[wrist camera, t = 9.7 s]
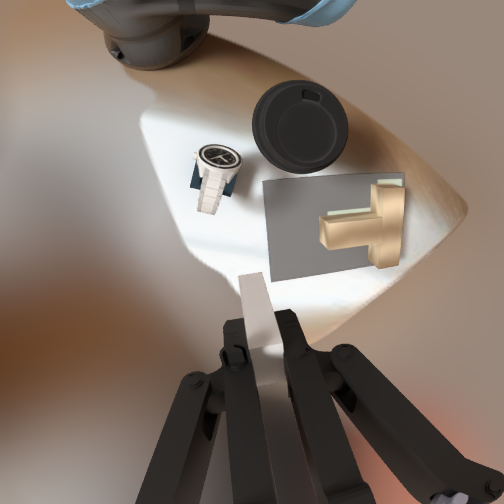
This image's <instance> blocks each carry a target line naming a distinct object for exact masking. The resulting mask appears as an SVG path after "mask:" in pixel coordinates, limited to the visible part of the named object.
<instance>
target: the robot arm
mask: <svg viewBox="0 0 504 504" xmlns="http://www.w3.org/2000/svg"><path fill="white" fill-rule="evenodd" d="M356 1H357V0H66V2H67V4H69V6H70V7H72V8H74V9H75V10H77V11H78V12H79V13H81V14H82V15H83V16H85V17H86V18H87V19H88V20H90V21H91V22H92V23H94V24H95V25H96V26H97V27H99V28H100V29H101V30H102V31H103V33H104V40H105V44H106V47H107V49H108V51H109V53H110V54H111V55H112V56H113V57H114V58H115V59H116V60H117V61H119V62H120V63H121V64H123V65H125V66H127V67H129V68H132V69H136V70H157V69H162V68H165V67H168V66H171V65H173V64H176V63H178V62H180V61H181V60H183V59H185V58H186V57H188V56H189V55H190V54H191V53H193V52H194V51H195V50H196V49H197V48H198V46H199V45H200V44H201V43H202V41H203V40H204V38H205V36H206V34H207V31H208V28H209V22H210V17H209V15H222V16H239V17H249V18H259V19H267V20H274V21H275V22H277V23H280V24H299V25H305V26H311V27H319V26H325V25H329V24H331V23H333V22H335V21H337V20H338V19H340V18H341V17H342V16H344V15H345V14H346V13H347V12H348V11H349V10H350V8H351V7H352V6H353V5H354V3H355V2H356ZM238 279H239V286H240V293H241V300H242V307H243V314H244V318H240V319H234V320H227V321H226V323H225V325H224V326H223V333H224V347H223V348H222V349H221V351H220V354H219V355H220V359H221V362H222V367H221V368H220V369H218V370H217V371H215V372H213V373H210V374H208V375H206V374H205V373H203V372H199V371H197V372H191V373H189V374H187V375H186V376H185V377H184V378H183V379H182V381H181V383H180V386H179V388H178V391H177V393H176V396H175V398H174V401H173V404H172V406H171V409H170V411H169V414H168V417H167V419H166V422H165V424H164V427H163V430H162V432H161V435H160V438H159V440H158V443H157V445H156V448H155V451H154V454H153V456H152V459H151V462H150V464H149V467H148V470H147V472H146V475H145V478H144V481H143V483H142V486H141V489H140V492H139V494H138V497H137V500H136V503H135V504H199V502H200V498H201V494H202V490H203V486H204V482H205V478H206V474H207V470H208V466H209V462H210V458H211V454H212V450H213V446H214V442H215V438H216V434H217V430H218V426H219V422H220V418H221V413H222V412H223V411H226V420H227V421H226V422H227V434H228V448H229V458H230V459H229V460H230V471H231V481H232V491H233V501H234V504H278V499H277V494H276V489H275V483H274V478H273V472H272V467H271V462H270V456H269V451H268V446H267V440H266V434H265V428H264V423H263V417H262V411H261V406H260V400H259V394H258V390H257V386H261V385H267V384H272V383H278V382H283V381H286V380H287V383H288V395H289V396H288V397H290V399H291V403H292V407H293V410H294V415H295V418H296V422H297V426H298V430H299V434H300V437H301V441H302V445H303V449H304V453H305V457H306V461H307V464H308V468H309V472H310V476H311V480H312V484H313V487H314V491H315V495H316V499H317V503H318V504H376V502H375V499H374V496H373V493H372V491H371V489H370V487H369V485H368V484H367V483H366V482H364V481H363V479H362V477H361V474H360V471H359V469H358V466H357V463H356V460H355V458H354V455H353V452H352V450H351V447H350V444H349V441H348V439H347V436H346V434H345V431H344V428H343V426H342V423H341V420H340V418H339V415H338V412H337V410H336V407H335V405H334V402H333V399H332V397H333V398H334V399H335V401H336V402H337V403H338V404H339V406H340V407H341V408H342V409H343V411H344V412H345V414H346V415H347V416H348V417H349V418H350V420H351V421H352V422H353V424H354V425H355V426H356V428H357V429H358V430H359V431H360V433H361V434H362V435H363V436H364V438H365V439H366V440H367V441H368V443H369V444H370V445H371V446H372V448H373V449H374V450H375V451H376V453H377V454H378V455H379V456H380V458H381V459H382V460H383V461H384V463H385V464H386V465H387V466H388V468H389V469H390V470H391V471H392V472H393V474H394V475H395V476H396V477H397V478H398V480H399V481H400V482H401V483H402V484H403V486H404V487H405V488H406V489H407V491H408V492H409V493H410V494H411V495H412V496H413V497H414V498H415V499H416V500H417V501H419V502H420V503H422V504H490V503H492V502H493V501H495V500H497V499H498V498H499V497H500V496H501V495H502V493H503V492H504V475H503V474H502V473H501V472H499V471H497V470H494V469H491V468H489V467H486V466H483V465H481V464H478V463H476V462H473V461H471V460H468V459H466V458H465V457H464V456H463V455H462V454H461V453H460V452H459V451H458V450H457V449H456V448H455V447H454V446H453V445H452V444H451V443H450V442H449V441H448V440H447V439H446V438H445V437H444V436H443V435H442V434H441V433H440V432H439V431H438V430H437V429H436V428H435V427H434V426H433V425H432V424H431V423H430V422H429V421H428V420H427V419H426V418H425V417H424V415H423V414H421V412H420V411H419V410H418V409H417V408H416V407H415V406H414V405H413V404H412V403H411V402H410V401H409V400H408V399H407V398H406V397H405V396H404V395H403V394H402V393H401V392H399V390H398V389H397V388H396V387H395V386H394V385H393V384H392V383H391V382H390V381H389V380H388V379H387V378H386V377H385V376H384V375H383V374H382V373H381V372H380V371H379V370H378V369H377V368H376V367H375V366H374V365H373V364H372V363H371V362H370V361H369V360H368V359H367V358H366V357H365V356H364V355H363V354H362V353H361V352H360V351H359V350H358V349H357V348H356V347H354V346H353V345H350V344H340V345H337V346H335V347H334V348H333V349H332V351H331V352H322V351H317V350H314V349H312V348H311V347H310V346H309V345H308V343H307V341H306V338H305V336H304V333H303V331H302V328H301V326H300V323H299V321H298V318H297V316H296V313H294V312H293V311H292V310H291V309H286V310H281V311H276V312H274V311H273V308H272V304H271V301H270V298H269V294H268V291H267V288H266V284H265V281H264V277H263V274H262V272H259V273H253V274H247V275H241V276H238ZM331 395H332V397H331Z"/></svg>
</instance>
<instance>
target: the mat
mask: <svg viewBox="0 0 504 504" xmlns="http://www.w3.org/2000/svg"><path fill="white" fill-rule="evenodd" d="M262 183H263V193H264V204H265V216H266V227H267V239H268V250H269V262H270V275H271V282H276V281H283V280H289V279H296V278H302V277H308V276H314V275H321V274H327V273H333V272H338V271H344V270H350V269H356V268H361V267H367V266H373V265H374V264H372V263H371V262H370V261H369V260H368V249H369V245H364V246H356V247H349V248H342V249H335V250H328V249H327V248H326V247H325V246H324V245H323V244H322V243H321V242H320V232H319V216H326V215H336V214H346V213H357V212H367V211H370V207H371V184H379V183H392V184H395V185H398V186H401V187H404V173H368V174H345V175H328V176H313V177H300V178H289V179H278V180H268V181H262Z"/></svg>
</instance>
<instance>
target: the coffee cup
mask: <svg viewBox="0 0 504 504" xmlns="http://www.w3.org/2000/svg"><path fill="white" fill-rule="evenodd" d="M252 131H253V136H254V139H255V142H256V144H257V147H258V148H259V150H260V152H261V153H262V154H263V156H264V157H265V158H266V159H267V160H268V161H269V162H270V163H272V164H273V165H274V166H276V167H278V168H279V169H282V170H284V171H286V172H290V173H295V174H308V173H313V172H317V171H320V170H323V169H325V168H326V167H328V166H330V165H331V164H332V163H333V162H335V161H336V159H337V158H338V157H339V156H340V154H341V153H342V151H343V149H344V147H345V145H346V142H347V137H348V121H347V117H346V113H345V111H344V109H343V107H342V105H341V103H340V102H339V100H338V99H337V98H336V97H335V96H334V95H333V94H332V93H331V92H330V91H329V90H328V89H326V88H325V87H323V86H321V85H319V84H317V83H314V82H311V81H306V80H291V81H286V82H282V83H279V84H277V85H275V86H273V87H272V88H270V89H269V90H268V91H267V92H266V93H264V95H263V96H262V97H261V98H260V100H259V101H258V103H257V105H256V107H255V110H254V113H253V118H252Z"/></svg>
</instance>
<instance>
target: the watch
mask: <svg viewBox="0 0 504 504" xmlns="http://www.w3.org/2000/svg"><path fill="white" fill-rule="evenodd" d="M193 159H197V160H196V164H195V168H194V172H193V176H192V180H191V184H190V188H195V189H199V190H200V194H199V199H198V205H197V211H199V212H203V213H207V214H212V215H215V213H216V211H217V208H218V206H219V202H220V199H221V196H222V195H225V196H229V197H231V195H232V191H233V187H234V183H235V180H236V176H237V173H238V171H239V168H240V166H241V164H242V158H241V156H240V155H239V154H238V153H237V152H236V151H235V150H233V149H231V148H229V147H226V146H223V145H217V144H211V145H205V146H203V147H202V148H200V149H199V151H198V153H197V152H195V153H194V155H193Z"/></svg>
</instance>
